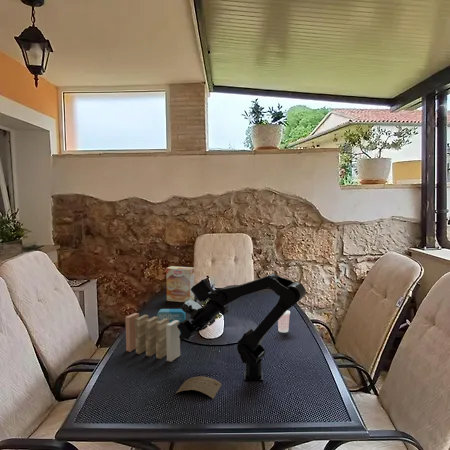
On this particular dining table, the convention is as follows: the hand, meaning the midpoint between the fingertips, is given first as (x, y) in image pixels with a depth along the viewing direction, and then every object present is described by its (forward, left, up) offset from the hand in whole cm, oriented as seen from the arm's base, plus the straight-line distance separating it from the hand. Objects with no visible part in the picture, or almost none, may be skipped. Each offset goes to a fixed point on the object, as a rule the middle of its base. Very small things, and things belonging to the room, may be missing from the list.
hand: (184, 336), depth 148 cm
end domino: (+11, +23, -10) cm, 27 cm away
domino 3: (+4, +9, -10) cm, 14 cm away
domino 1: (+8, +18, -10) cm, 22 cm away
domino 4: (+2, +5, -10) cm, 11 cm away
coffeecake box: (+81, +14, -10) cm, 83 cm away
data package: (+24, +9, -10) cm, 27 cm away
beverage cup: (+33, -41, -10) cm, 53 cm away
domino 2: (+6, +14, -10) cm, 18 cm away
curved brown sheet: (-21, -8, -10) cm, 25 cm away
